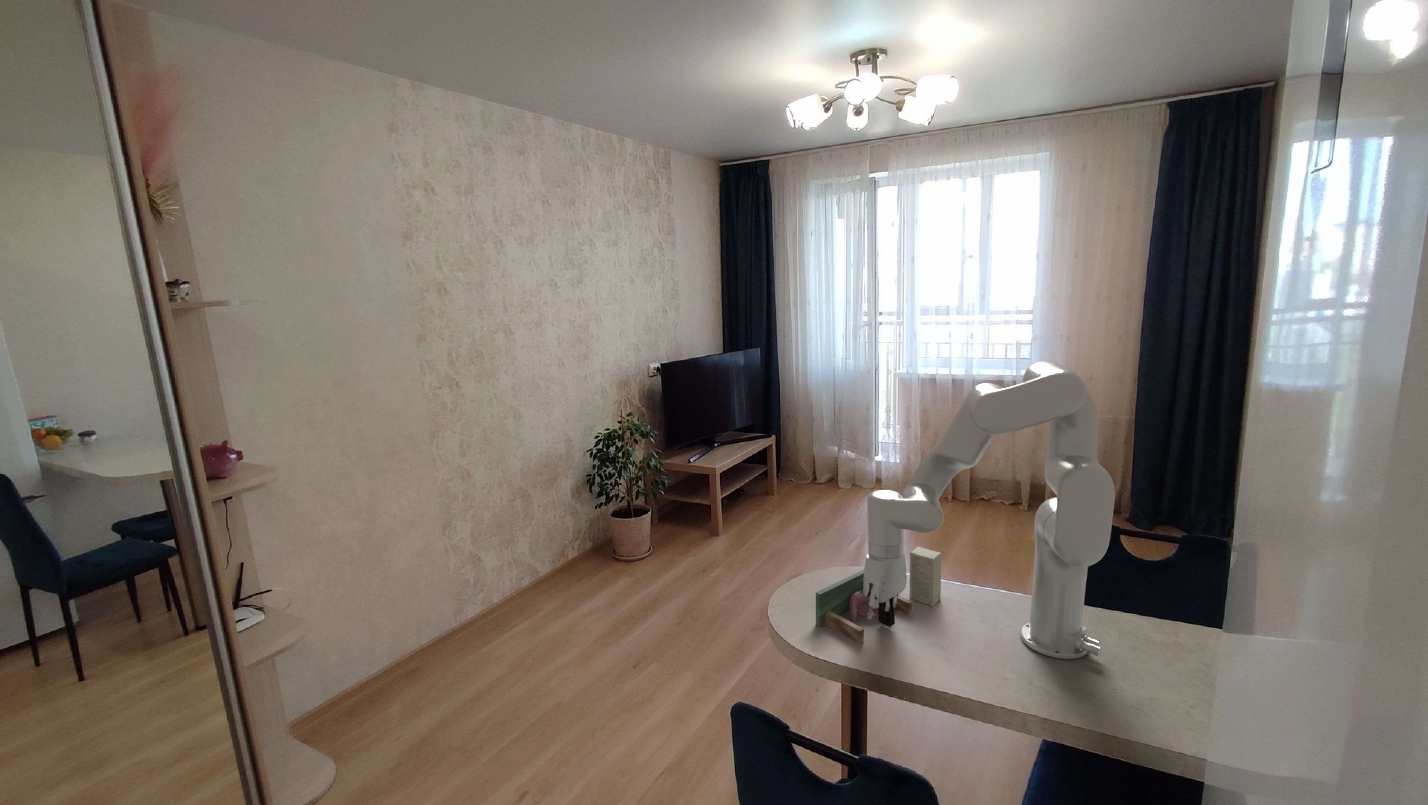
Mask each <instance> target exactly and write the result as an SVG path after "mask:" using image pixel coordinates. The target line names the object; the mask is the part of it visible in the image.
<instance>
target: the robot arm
mask: <svg viewBox="0 0 1428 805" xmlns="http://www.w3.org/2000/svg"><path fill="white" fill-rule="evenodd" d="M1045 423H1047V424H1048V438H1047V448H1046V455H1045V456H1046V457H1045V465H1044V473H1043V474H1044V479H1045V482H1046V484H1047V485H1048V487H1049V488H1050V490H1051V491H1052V492H1053V493H1054V494H1055V497H1050V498H1049V499H1046V500H1045V501H1043V502H1042V503H1041V504H1040V505H1039V507H1038V509H1037V510H1036V513H1035V516H1034V540H1035V541H1034V542H1035V543H1034V544H1035V545H1034V546H1035V548H1034V549H1035V551H1034V567H1033V577H1032V590H1031V601H1030V602H1031V604H1030V614H1029V615H1030V617H1029V622H1026V623H1025V624H1024V625H1022V627H1021V629H1020V638H1021V640H1022V641H1023V643H1025V645H1027V646H1028V648H1030V649H1032V650H1034V651H1036V652H1037V653H1040V654H1042V655H1044V656H1047V657H1051V658H1055V659H1061V660H1075V659H1079V658H1083V657H1084V656H1086V655H1087V654H1088V653H1089V654H1092V655H1093V656H1096V657H1100V656H1102V655H1101V654H1102V653H1103V652H1102V651H1103V648H1102V647H1101V646H1100V645H1101V641H1099V640H1098V639H1095V638H1092V637H1089V635H1087V629H1088V628H1087V627H1086V626H1083V625H1082V624H1083V618H1084V617H1083V615H1084V605H1085V597H1086V596H1085V595H1086V585H1087V577H1088V568H1089V567H1090V566H1092V565H1095V564H1097V563H1098V562H1099V561H1101V560H1102V559H1103V557H1104V556H1105V554H1106V553H1107V550H1108V548H1109V545H1110V541H1111V534H1112V525H1113V516H1114V509H1115V498H1116V489H1115V485H1114V481H1113V478H1112V477H1111V474H1109V472H1108V471H1107V470H1106V468H1104V467H1103V465H1101V464H1099V461H1098V443H1099V442H1098V440H1099V414H1098V410H1097V406H1096V403H1095V400H1094V398H1093V396H1092V394H1091V392H1090V391H1089V389H1088V388H1087V385H1086V383H1085V381H1084V380H1083V379H1082V377H1081V376H1080V375H1078V374H1077V373H1075V371H1072V370H1070V369H1068V368H1066V367H1064V366H1063V365H1061V364H1058V363H1057V362H1054V361H1049V360H1048V361H1047V360H1044V361H1043V360H1042V361H1037V362H1035V363H1033V364H1031V365H1030V366H1029V367H1027V369H1026V370H1025V372H1024V374H1023V377H1022V383H1019V384H1016V385H1012V386H1009V387H1005V388H1004V387H1003V386H1002V385H999V384H996V383H992V382H983V383H979V384H976V385H975V386H974V387H973V388H972V389H971V390H970V391H969V392H968V394H967V395H966V397H965V398H964V400H963V401H962V403H961V404H960V406H959V408H958V409H957V410H956V412H955V415H954V416H953V418H952V419H951V421H950V423H949V425H948V426H947V428H946V429H945V431H944V433H943V435H941V437H940V439H939V440H938V442H937V444H936V445H935V446H934V447H933V448H931V450H930V451H929V452H928V453H927V455H925V457H924V458H923V459H922V461H921V462H920V463H919V465H918V466H917V467H916V469H915V471H914V473H913V474H912V475H911V478H910V480H909V481H908V483H907V484H906V486H905V488H904V491H903V494H902V495H901V493H899V492H897V491H896V490H889V489H878V490H874V491H872V492H871V493H869V495H868V496H867V501H866V503H867V510H866V511H867V555H866V557H865V561H864V562H865V563H864V569H863V570H864V582H863V593H864V596H865V597H869V596H870V602H869V603H868V605H869V607H871V608H872V609H873V608H878V618H877V619H878V623H880V624H881V625H884V626H885V627H888V628H891V627H892V626H894V625H895V624H896V620H895V619H896V611H895V610H896V609H895V607H896V604H897V597H898V595H899V596H900V594H902V592H903V591H904V590H905V589H906V587H907V563H906V556H905V540H904V539H905V536H904V535H905V534H904V533H905V530H907V531H910V532H911V531H912V532H916V533H922V534H923V533H924V534H926V533H928V534H929V533H932V532H935V531H937V530H938V529H939V528H941V526H942V525H943V523H944V510H943V509H942V506H941V503H940V500H939V499H940V497H942V494H943V493H944V491H945V489H946V488H947V487H948V485H949V483H950V482H951V481H952V479H953V478H954V477H955V476H956V475H957V474H958V473H961V471H964V470H967V469H971V468H973V467H975V466H976V465H977V464H978V463H979V462H980V460H981V458H982V457H983V455H984V453H986V450H987V449H988V447H989V445H990V444H991V442H992V441H993V439H994V437H995V436H997V435H998V436H1000V435H1007V434H1010V433H1016V432H1019V431H1023V430H1026V429H1029V428H1031V427H1032V428H1033V427H1035V426H1036V427H1037V426H1039V425H1042V424H1045Z"/></svg>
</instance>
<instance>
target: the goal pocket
mask: <svg viewBox="0 0 1428 805" xmlns="http://www.w3.org/2000/svg"><path fill="white" fill-rule="evenodd" d="M863 582H864V569H861V570H859V571H858V572H855V573H853V574H852V575H850V576H848V577H845V578H843V579H841V580H839V581H837V582H835V583H832V584H830V585H829V586H826V587H824V588H822V589H820V590H818V591H816V592H815V625H816V626H817V627H819V628H821V627H822V626H824V625H826V626H828V627H830V628H831V629H833V630H835V631H836V632H839V633H840V634H842V635H843V636H846V637H847V638H850V639H851V640H852V641H855V642H856V643H858V644H862V643H864V641H865V640H864V639H865V629H864V628H863V627H861V626H859V625H858V624H856V623H855V622H854V623H853V621H850V620H848V619H846V618H844V617H843V615H845V614H847V613H850V606H849V604H850V596H851V595H852V594H853V593H855V592H857V591H862V590H863ZM894 609H895V610H897V611H899V612H901V613H903V614H904V615H905V614H906V615H907V616H910V615H912V614H913V601H912V600H910V599H907V598H905V597H904V596H901V595H900V594H899V595H898V597H897V604H896V607H895V608H894Z"/></svg>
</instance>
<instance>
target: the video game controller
mask: <svg viewBox="0 0 1428 805" xmlns="http://www.w3.org/2000/svg"><path fill="white" fill-rule="evenodd" d="M869 602H870V596H869V597H865V596H864V593H863V590H862V591H857V592H855V593H853V594H852V595H851V596H850V604H849V606H850V611H849V613H850V614H849V615H850V617H851V620H852V621H851V622H852V623H853V622H854V623H856V621H857V620H858V612H859V614H860V615H861V616H867V615H869V612H870V608H869V607H868V605H867V604H869ZM872 613H873V614H874V615H875V616H878V608H872Z"/></svg>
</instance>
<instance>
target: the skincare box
mask: <svg viewBox="0 0 1428 805" xmlns="http://www.w3.org/2000/svg"><path fill="white" fill-rule="evenodd" d="M941 587H942V552H939V551H937V550H934V549H929V548H925V547H922V546H916V547H915V548H913V549H911V551H910V552H909V598H910V599H912V598H913V599H912V600H914V599H915V600H914V601H917V602H920V601H921V602H920V603H923V604H926V605H929V606H932V607H934V605H936V604H937V603H938V602H939V601H940V600H941V599H942V598H941V596H942V594H941V592H942V590H941V589H942V588H941Z"/></svg>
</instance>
